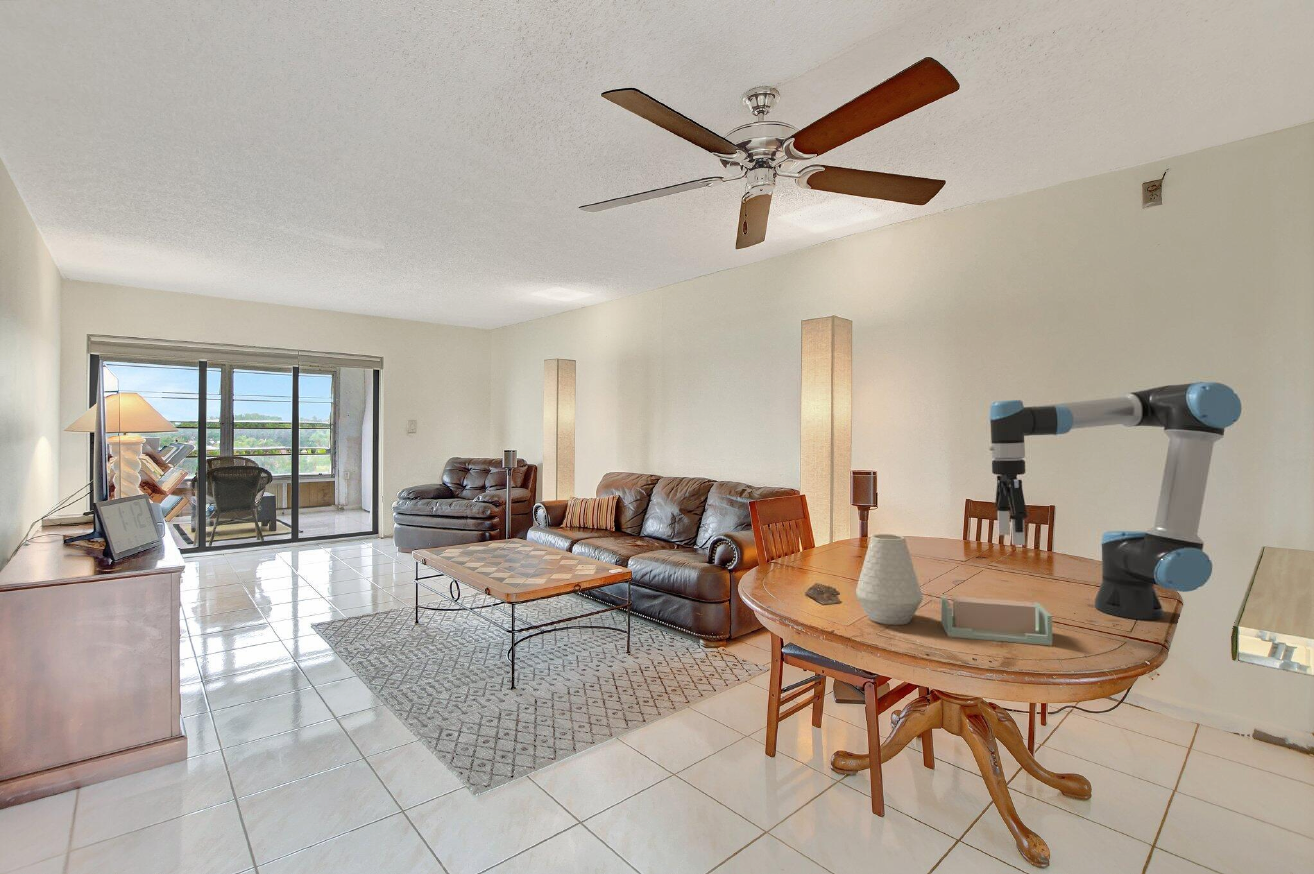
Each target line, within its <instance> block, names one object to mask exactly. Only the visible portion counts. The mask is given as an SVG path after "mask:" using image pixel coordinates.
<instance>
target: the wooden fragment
mask: <svg viewBox="0 0 1314 874" xmlns="http://www.w3.org/2000/svg"><path fill="white" fill-rule="evenodd" d="M818 589H819V590H818ZM839 594H840V591H838V590H837V588H835V587H832V586H830V585H825V584H823V583H819V582H815V583H814V584H812V585H811V586H810V587H809V588H808V589H807V590H806V591H805V592H804V595H806V596H808V597H810V598H811V599H813V600H815V601H816V602H817V603H821V605H822V606H831V605H832V606H833V605H837V604H841V603H842V604H843V601H841V599H840V598H838V595H839Z"/></svg>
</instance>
